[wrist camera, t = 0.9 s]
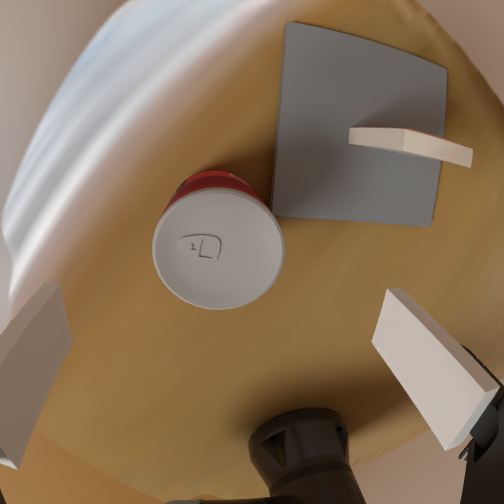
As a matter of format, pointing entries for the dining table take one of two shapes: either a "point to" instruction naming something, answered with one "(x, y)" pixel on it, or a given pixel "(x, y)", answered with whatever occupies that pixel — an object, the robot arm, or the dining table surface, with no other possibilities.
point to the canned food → (217, 242)
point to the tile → (412, 144)
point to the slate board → (353, 116)
